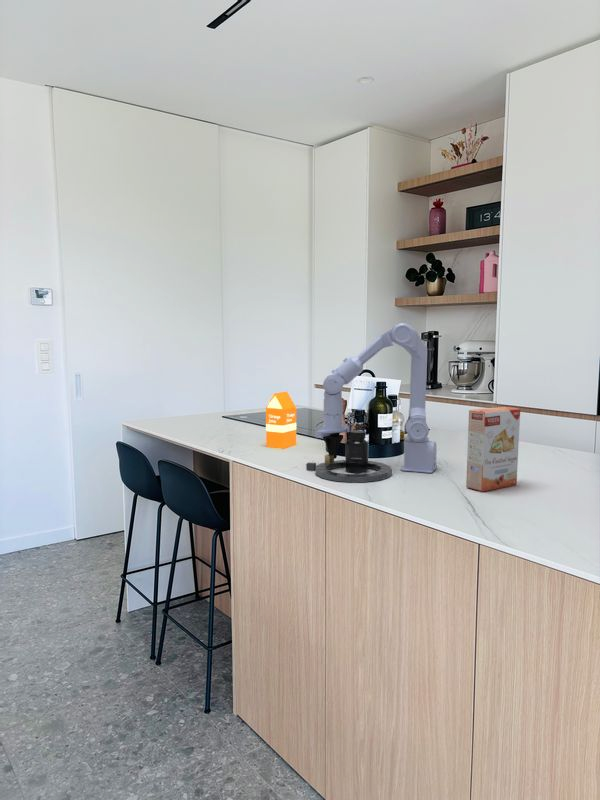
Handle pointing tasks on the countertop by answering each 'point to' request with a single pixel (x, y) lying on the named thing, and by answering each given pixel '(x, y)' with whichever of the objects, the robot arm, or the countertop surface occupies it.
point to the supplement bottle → (356, 452)
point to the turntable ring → (324, 472)
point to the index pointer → (311, 466)
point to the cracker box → (492, 448)
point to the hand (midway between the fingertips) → (332, 458)
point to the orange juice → (281, 421)
